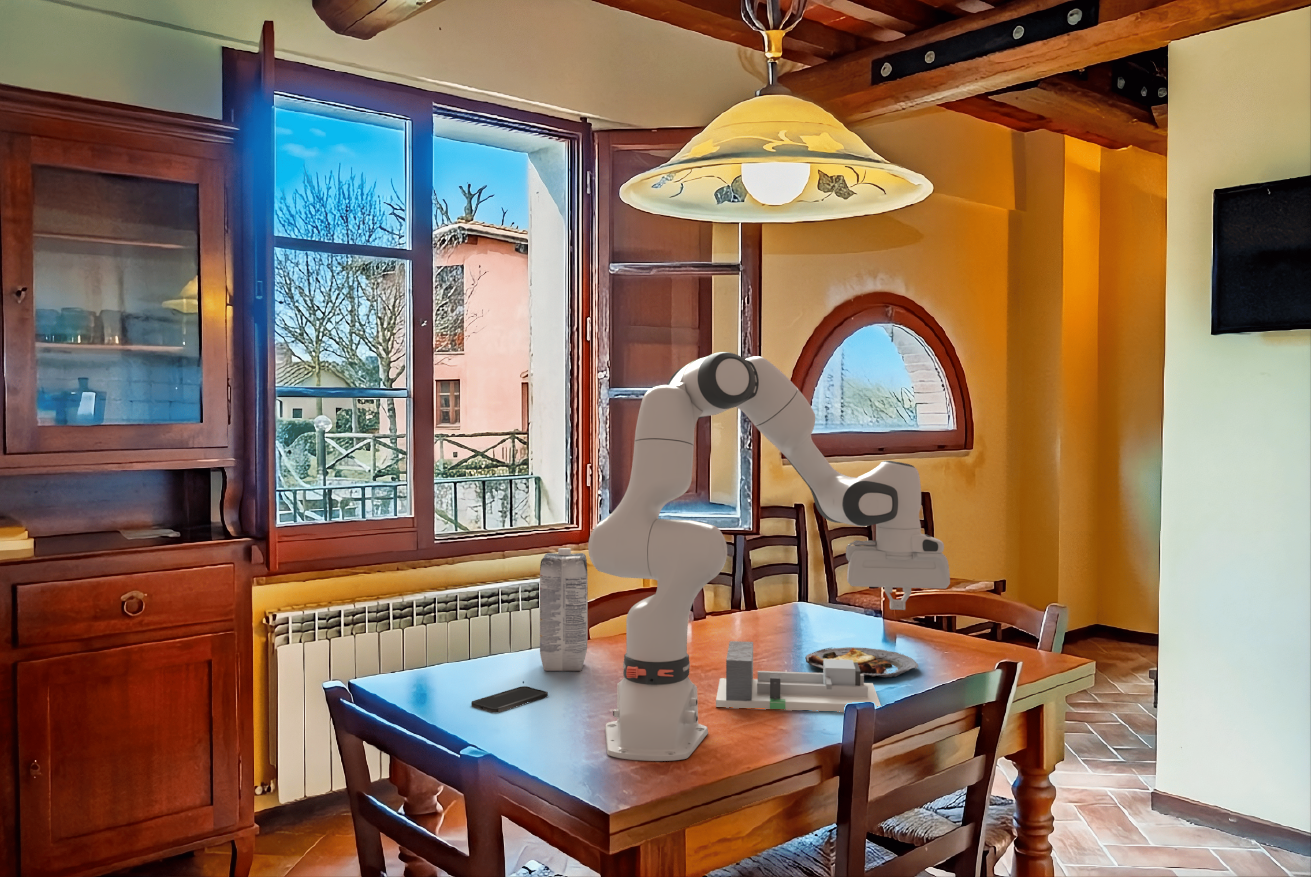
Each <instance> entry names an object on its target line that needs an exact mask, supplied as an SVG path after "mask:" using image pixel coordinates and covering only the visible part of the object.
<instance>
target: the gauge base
mask: <svg viewBox="0 0 1311 877" xmlns="http://www.w3.org/2000/svg"><path fill="white" fill-rule="evenodd" d="M770 674H778V675H780V699H776V700H774V698H770ZM718 681H719V682H718V687H717V693H716V697H715V708H716V707H726V708H725V709H730V708H729V707H733V708H732V709H739V708H765V709H764V710H766V709H784V710H783V711H792V710H812V711H811V712H819V711H837V712H836V713H845V712H844V707H845V705H846V704H847V703H852V702H874V703H875V705H876V706H877V707H878V706H881V707H882V705H881V703H880V700H879V696H878V694H877V691H876V688H875V686H874V683H873V682H865V675H863V674H860V686H851V685H832V689H826V685H823V672H806V671H805V672H804V671H802V672H801V671H799V672H798V671H779V670H778V671H776V670H775V671H774V670H771V671H770V670H757V678H756V679H755V678H753V687H752V700H750V701H749V700H746V701H727V700H726V677H725V678H723V677H722V678H721V677H720V678H719V680H718ZM785 709H786V710H785ZM788 709H790V710H788ZM816 710H818V711H816ZM839 711H840V712H839Z"/></svg>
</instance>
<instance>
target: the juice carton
mask: <svg viewBox="0 0 1311 877" xmlns="http://www.w3.org/2000/svg"><path fill="white" fill-rule="evenodd" d="M571 549H572V548H570V547H569V548H567V547H566V548H564V547H562V548H558V549H557V553H553V552H547V553H545V554H544V556H543V557H542V559H541V560H540V563H539V564H540V565H539V567H540V569H539V655H540V659H541V664H542V668H543V671H545V672H546V671H547V672H561V671H562V672H580V671H582V669H583V666H584V662H585V660H586V654H587V651H588V601H589V600H588V598H589V597H588V595H589V594H588V562H587V559H588V558H587V556H586V554H585V553H583V552H578V553H571V552H572V551H571Z"/></svg>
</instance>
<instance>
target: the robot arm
mask: <svg viewBox="0 0 1311 877" xmlns="http://www.w3.org/2000/svg"><path fill="white" fill-rule="evenodd" d="M639 407H640V408H639V412H638V414H637V421H636V425H635V426H636V427H635V433H634V442H633V443H634V444H633V455H632V456H633V457H632V464H631V466H632V467H631V472H630V476H629V478H630V479H629V481H628V482H629V483H628V486H627V488H626V490H625V493H624V496H623V497H622V499H621V501H620V502H619V503H618V505H617V506H616V508H614V510H612V512H611V513H610V514H609V515H608V516H606V517H605V518H604V519H602V520H600V522H598V523H597V524H596V526H595V527H593V529H592V531H591V534H590V535H589V538H588V542H587V543H588V548H587V550H588V555H589V559H590V562H591V563H592V565H593V567H594V568H595V569H596V570H597V571H598V572H601V573H604V574H606V575H611V576H615V577H619V578H623V579H624V578H625V579H626V578H627V579H643V580H644V579H645V580H655V581H657V582H656V583H657V588H656V592H655V593H654V594H653V595H650V596H648V597H646V598H643V599H642V600H640V601H638V602H637V603H635V604H634V605H633V606H631V608H630V609H629V611H628V612H627V616H626V619H625V620H626V621H625V622H626V633H625V634H626V644H625V645H626V651H625V654H624V658H623V662H622V663H623V665H622V667H623V671H622V672H623V674H622V675H623V678H622V680H620V681H619V682H617V683H616V684H617V685H616V690H617V691H616V692H617V694H616V709H613V710H612V716H613V718H616V720H612V721H608V722H606V723H605V726H604V727H605V728H604V732H605V743H606V753H607V755H608V756H611V757H613V758H617V759H623V760H624V759H625V760H633V761H645V762H646V761H648V762H649V761H650V762H651V761H652V762H654V761H655V762H663V761H664V762H666V761H667V762H668V761H669V762H671V761H680V760H685V759H688V758H689V757H690V756H691V755H692V753H693V752H694V751H695V750H696V749H697V747H698V746H699V745H700V744H701V742H702V741H703V740H704V739H705V737H706V736H707V735H708V734H709V729H708V728H709V727H708V726H706V725H704V724H701V723H699V709H698V708H699V707H698V706H699V704H698V702H699V701H698V687H697V685H696V684H695V683H694V682H692V681H691V678H690V677H689V676H690V666H691V664H690V663H691V662H690V655H689V654H688V630H689V628H688V627H689V617H690V612H691V610H692V606H693V604H694V601H695V599H696V597H697V596H698V594H699V593H700V592H701V590H702V589H703V588H704V587H705V586H706V585H707V584H708V583H710V581H712V580H714V579H715V578H717V576H718V575H719V574H720V573H721V572H722V570H723V569H724V567H725V564H726V562H727V557H728V545H727V540H726V538H725V536H724V535H723V533H722V531H721V530H720V529H719V527H717V526H716V525H713V524H710V523H706V522H701V521H696V520H692V519H691V520H689V519H671V518H670V519H669V518H667V519H666V518H665V519H664V518H659V516H660V513H661V511H662V509H663V508H664V506H666V505H667V504H668V503H669V502H671V501H673V500H676V499H678V498H679V497H682V496H684V494H685V493H686V492H687V491H688V490H689V489H690V487H691V484H692V478H693V467H694V448H695V429H696V424H697V422H698V421H699V420H698V419H701V418H704V417H709V416H716V415H720V414H722V413H724V412H726V411H728V410H730V409H735V408H737V409H738V410H739V411H741V412H743V413H744V414H745V415H746V416H747V418H748V419H749V421H750V422H751V423H752V424H753V425H754V426H755V428H756V429H757V430H758V431H759V433H761V434H762V435H763V436H764V437H765V438H766V439H767V440H768V441H769V442H770V443H771V444H772V445H773V446H774V447H776V449H778V451H779V452H780V453H782V455H784V457H785V459H787V462H789V463H790V466H792V467H793V469H794V470H795V472H797V474H798V475H799V476H800V478H801V479H802V480H803V481H804V482H805V484H806V485H807V487H808V488H809V490H810V493H811V495H812V498H813V501H814V504H815V507H816V509H817V512H819V514H820V516H822V517H823V518H824V519H826V520H827V521H829V522H832V523H836V524H846V525H849V526H856V527H861V528H862V527H869V526H874V525H875V540H857V539H856V540H853V541H852V542H850V543H848V544H847V546H846V547H845V548H846V549H845V558H846V560H847V561H848V566H847V572H846V581H847V583H848V584H849V585H850V586H851V587H862V588H863V587H864V588H865V587H867V588H868V587H869V588H884V590H883V591H884V592H885V595H886V596H887V598H888V600H889V609H890V610H898V611H899V610H900V611H902V610H903V611H906V602H907V600H908V599H909V598H910V596H911V594H912V589H944V590H945V589H947V588H948V587H949V585H950V584H951V576H950V575H951V573H950V565H949V561H948V558H947V556H946V555H945V554H944V550H945V543H944V542H943V541H942V540H941V539H939V538H936V537H933V536H931V535H928V534H923V533H922V529H921V528H922V525H921V521H920V511H921V507H922V486H921V478H920V473H919V471H918V469H917V467H915V466H914V465H912V464H910V463H905V462H900V461H894V460H883V461H881V462H880V463H879V464H878V465H877V466H876V467H874V468H873V469H871V470H869V471H868V472H865V473H863V474H861V475H858V476H857V477H854V476H848V475H846V474H844V473H841V472H839V471H837V470H836V469H835V468H834V467H833V466H832V465H831V464H830V462H829V461H828V459H826V457H825V456H824V455H823V454H822V452H821V451H820V450H819V448H818V447H817V446H816V444H815V442H814V441H813V439H812V433H813V430H814V428H815V424H816V414H815V411H814V410H813V408H812V406H811V404H810V403H809V401H808V399H807V398H806V397H805V395H804V394H803V393H802V391H801V390H800V389H799V388H798V387H797V386H796V385H795V384H794V383H793V381H791V380H790V379H789V377H788V376H786V374H784V373H783V372H782V371H781V370H780V369H779V367H777V366H775V365H774V364H773V363H772V362H771V361H769V360H768V359H766V358H765V357H763V356H758V355H757V356H755V355H754V356H750V357H747V358H743V357H742V356H740V355H738V354H736V353H733V352H730V351H729V352H728V351H719V352H715V353H711V354H710V355H707V356H705V357H700V358H696V359H694V360H691V362H689V363H688V364H686V365H685V366H682V367H680V368H679V369H677V370H676V371H675V372H674V373H673V374H672V376H671V377H670V378H669V380H668V382H667V384H662V385H656V386H654V387H652V388H649V389H648V390H647V391H646V392H645V393H644V394H643V397H642V400H641V403H640V406H639ZM893 588H901V589H902V591H903V596H902V598H900V599H894V598H893V597H892V595H891V594H892V593H893Z"/></svg>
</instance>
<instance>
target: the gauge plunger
mask: <svg viewBox="0 0 1311 877" xmlns="http://www.w3.org/2000/svg"><path fill="white" fill-rule="evenodd" d="M822 673H823V685H826V689H832V685H851V686H860V669H859V666H858V663H855V662H853V660H836V659H823V669H822Z"/></svg>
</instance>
